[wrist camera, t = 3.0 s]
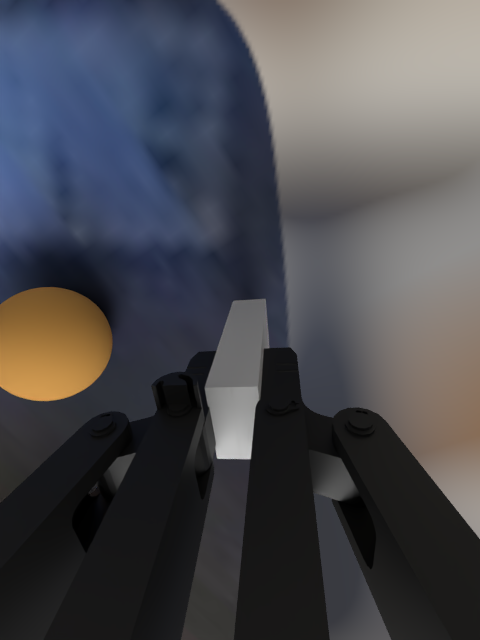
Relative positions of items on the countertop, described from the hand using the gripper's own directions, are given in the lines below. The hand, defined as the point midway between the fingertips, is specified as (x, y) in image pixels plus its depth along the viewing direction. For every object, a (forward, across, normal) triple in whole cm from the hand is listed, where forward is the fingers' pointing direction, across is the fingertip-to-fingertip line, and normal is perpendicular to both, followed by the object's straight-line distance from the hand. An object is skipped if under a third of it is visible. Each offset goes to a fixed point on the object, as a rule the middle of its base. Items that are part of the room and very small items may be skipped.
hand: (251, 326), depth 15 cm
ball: (-1, -10, 0) cm, 10 cm away
